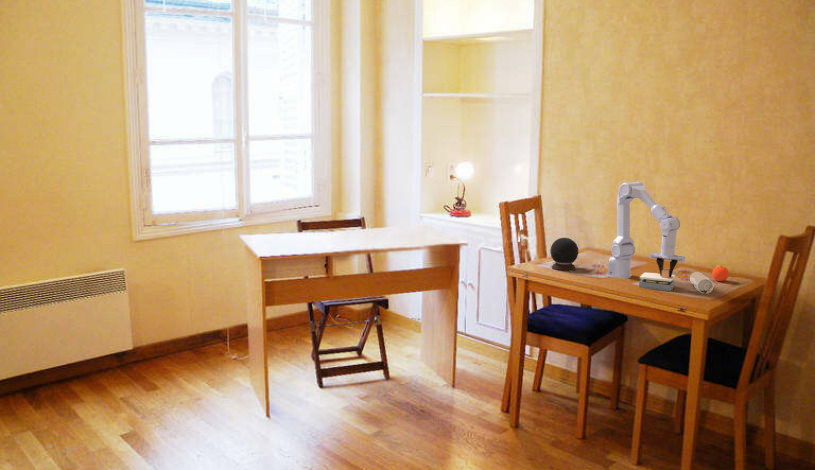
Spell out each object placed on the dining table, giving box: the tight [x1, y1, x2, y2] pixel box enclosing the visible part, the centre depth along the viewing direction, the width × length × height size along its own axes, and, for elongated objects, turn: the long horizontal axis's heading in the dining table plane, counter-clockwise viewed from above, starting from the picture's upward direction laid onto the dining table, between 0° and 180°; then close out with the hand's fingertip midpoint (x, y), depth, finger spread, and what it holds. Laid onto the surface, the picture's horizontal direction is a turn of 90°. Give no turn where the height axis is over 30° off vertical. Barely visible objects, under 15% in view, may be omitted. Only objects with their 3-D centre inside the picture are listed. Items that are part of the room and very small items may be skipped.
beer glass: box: [689, 271, 714, 294], centre depth 324 cm, size 7×7×15 cm
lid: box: [639, 267, 676, 282], centre depth 326 cm, size 13×10×4 cm
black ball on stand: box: [549, 237, 579, 272], centre depth 360 cm, size 13×13×15 cm
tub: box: [638, 279, 676, 292], centre depth 327 cm, size 13×10×3 cm
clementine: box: [711, 265, 730, 282], centre depth 340 cm, size 8×7×7 cm
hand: (665, 276), depth 325 cm, fingers closed on lid, 3 cm apart
